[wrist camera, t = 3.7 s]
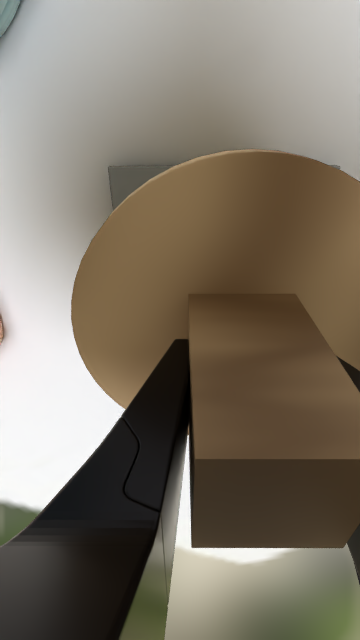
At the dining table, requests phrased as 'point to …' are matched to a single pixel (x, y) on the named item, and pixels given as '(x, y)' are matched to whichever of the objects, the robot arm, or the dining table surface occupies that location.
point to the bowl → (7, 13)
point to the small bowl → (1, 332)
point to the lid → (241, 336)
